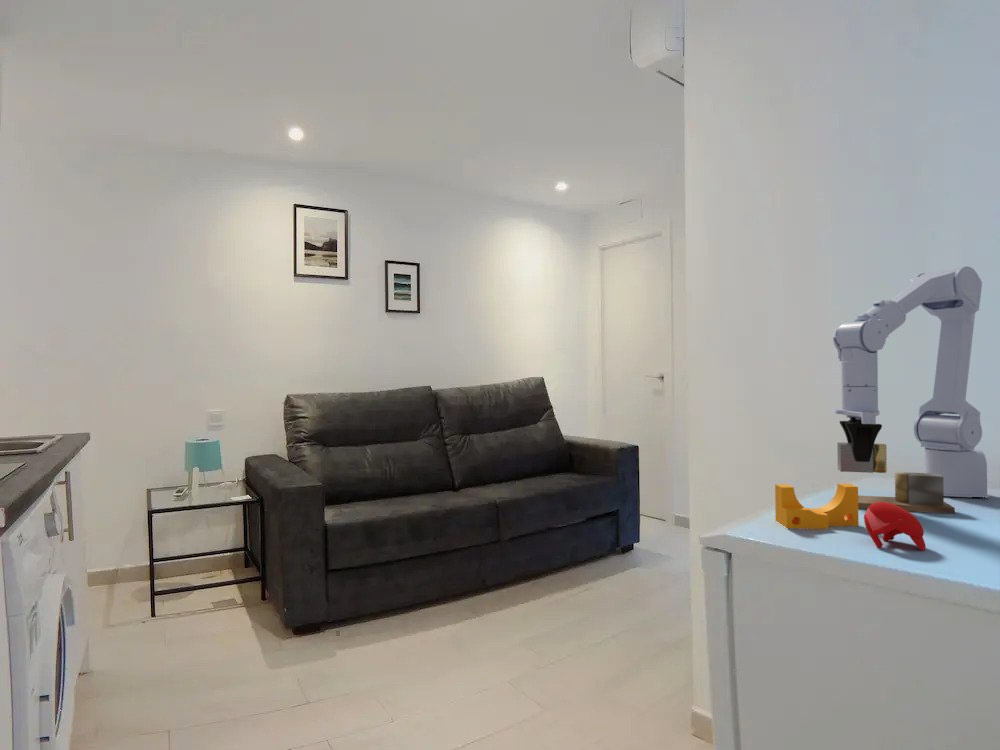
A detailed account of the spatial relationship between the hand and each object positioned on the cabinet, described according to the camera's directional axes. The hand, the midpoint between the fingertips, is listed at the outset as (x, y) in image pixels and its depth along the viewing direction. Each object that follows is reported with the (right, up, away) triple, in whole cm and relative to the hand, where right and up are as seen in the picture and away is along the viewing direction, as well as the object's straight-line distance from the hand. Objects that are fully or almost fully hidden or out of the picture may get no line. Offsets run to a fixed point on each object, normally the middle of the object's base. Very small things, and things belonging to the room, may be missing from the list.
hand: (860, 460), depth 111 cm
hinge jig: (+5, -8, -2) cm, 10 cm away
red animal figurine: (-10, -9, -25) cm, 28 cm away
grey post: (0, -2, 0) cm, 2 cm away
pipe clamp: (-15, -9, -14) cm, 22 cm away
